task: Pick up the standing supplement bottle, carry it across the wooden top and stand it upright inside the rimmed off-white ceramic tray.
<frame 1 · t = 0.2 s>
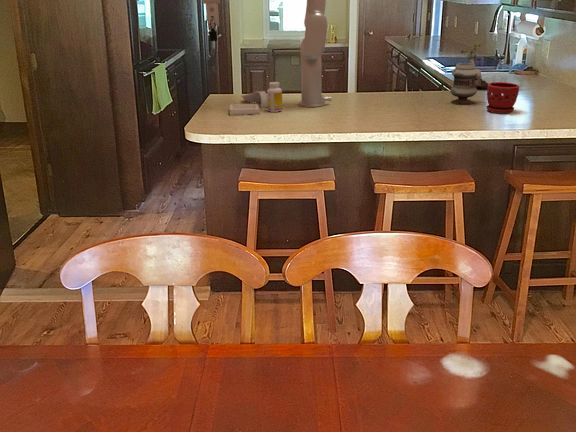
hand: (213, 40, 279), 31 cm above the table, fingers open, 9 cm apart
plant pot: (500, 112, 270), on the table
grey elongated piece: (258, 104, 299), on the table
potted plant: (475, 88, 332), on the table
ceramic tray: (244, 112, 279), on the table
apothecary jar: (462, 103, 291), on the table
supplement bottle: (275, 111, 280), on the table
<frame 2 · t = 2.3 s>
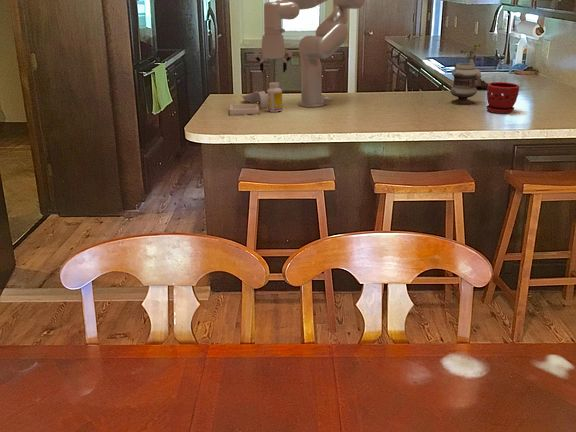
hand: (273, 72, 274), 18 cm above the table, fingers open, 9 cm apart
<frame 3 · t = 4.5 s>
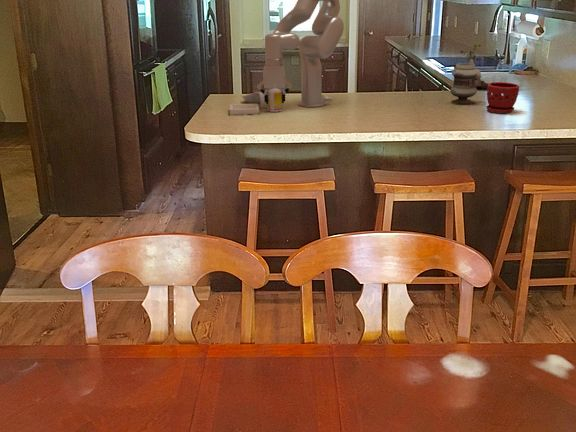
hand: (274, 103, 279), 4 cm above the table, fingers closed on supplement bottle, 6 cm apart
supplement bottle: (275, 111, 280), on the table, touching gripper
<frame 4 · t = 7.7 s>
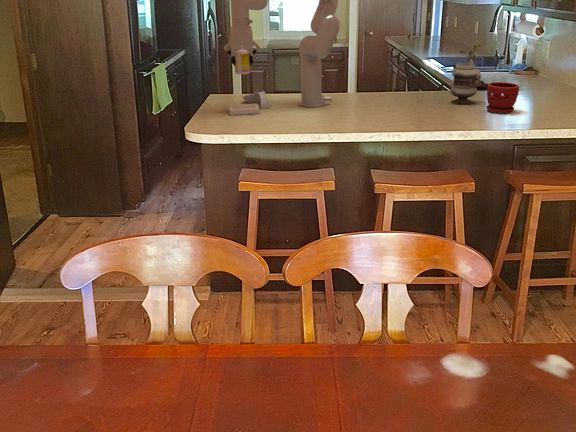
hand: (242, 65, 272), 21 cm above the table, fingers closed on supplement bottle, 6 cm apart
supplement bottle: (242, 74, 273), point 17 cm above the table, touching gripper
when the fingers open (6 cm above the table, at t = 11.3 s): supplement bottle drops 1 cm, resting on ceramic tray.
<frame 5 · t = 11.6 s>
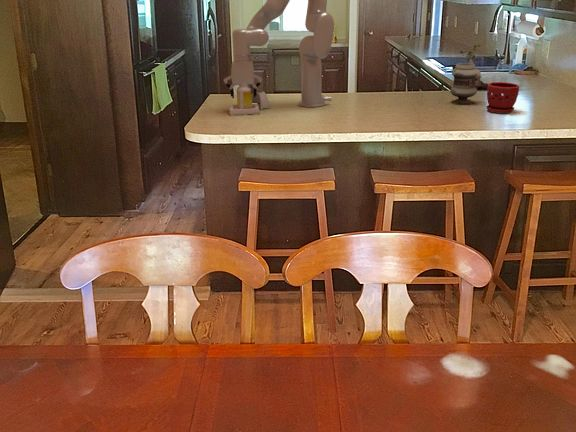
hand: (243, 97, 277), 7 cm above the table, fingers open, 9 cm apart
supplement bottle: (245, 110, 279), point 1 cm above the table, touching ceramic tray
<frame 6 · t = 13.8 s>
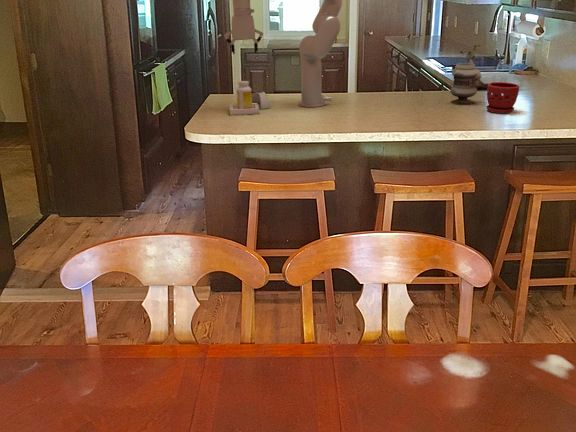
hand: (244, 53, 273), 26 cm above the table, fingers open, 9 cm apart
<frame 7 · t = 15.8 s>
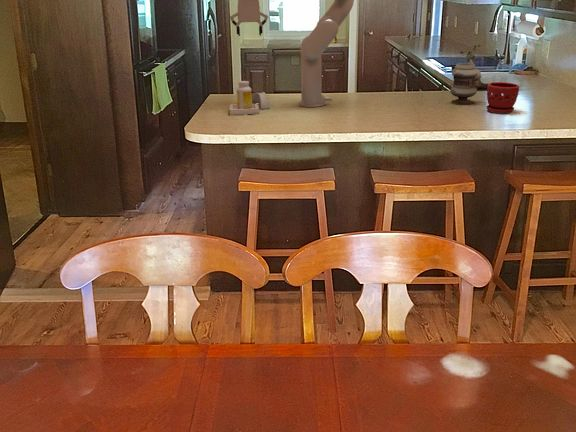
hand: (249, 35, 281), 32 cm above the table, fingers open, 9 cm apart
at the end: supplement bottle 0.3 cm off-centre on the ceramic tray, point 0.6 cm above the ceramic tray's base; supplement bottle tilted 0°; the gripper is holding nothing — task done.
